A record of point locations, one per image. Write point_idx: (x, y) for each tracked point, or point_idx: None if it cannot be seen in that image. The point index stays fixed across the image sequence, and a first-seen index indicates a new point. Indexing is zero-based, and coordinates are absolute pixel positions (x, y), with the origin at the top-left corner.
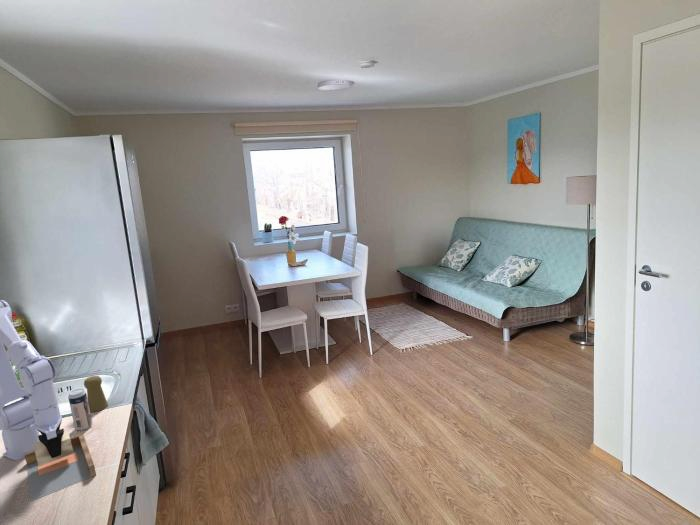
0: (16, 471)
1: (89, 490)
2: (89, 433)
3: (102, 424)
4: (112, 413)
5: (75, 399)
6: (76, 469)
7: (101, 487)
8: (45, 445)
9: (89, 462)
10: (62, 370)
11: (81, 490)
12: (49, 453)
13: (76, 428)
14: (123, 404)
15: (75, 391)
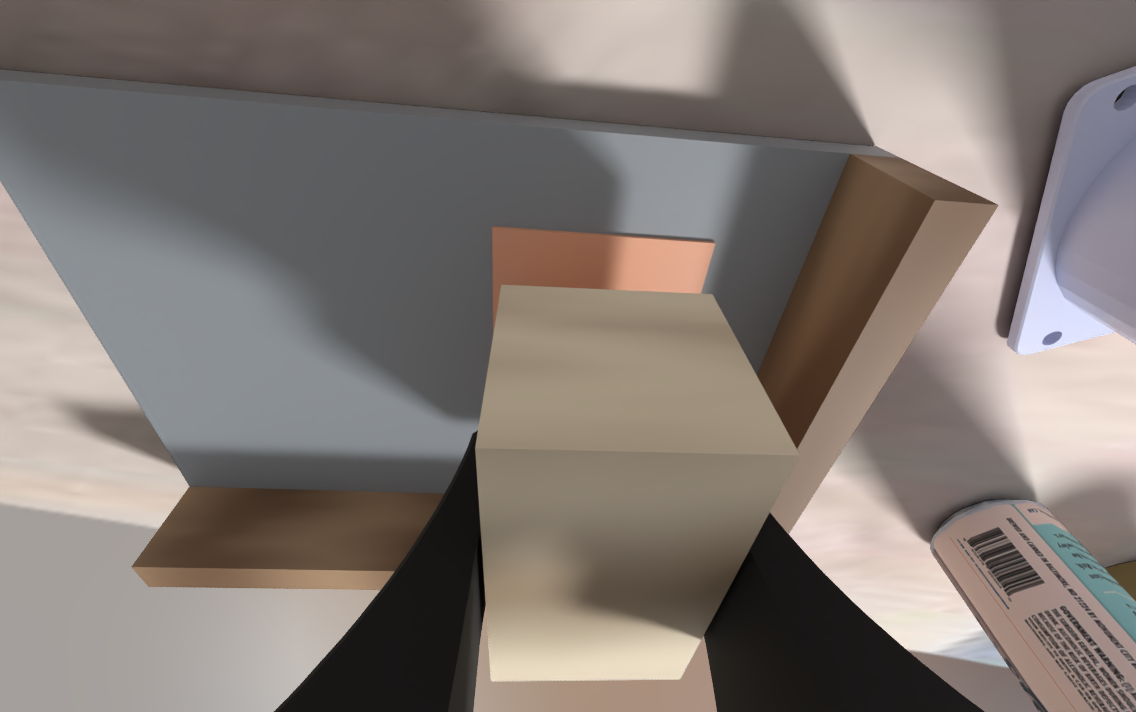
0: (920, 19)
1: (79, 440)
2: (858, 528)
3: (879, 576)
4: (940, 612)
5: None
6: (371, 445)
7: (90, 484)
8: (360, 622)
9: (203, 575)
10: None
11: (101, 410)
12: (456, 478)
13: (1000, 514)
14: (966, 644)
15: None
